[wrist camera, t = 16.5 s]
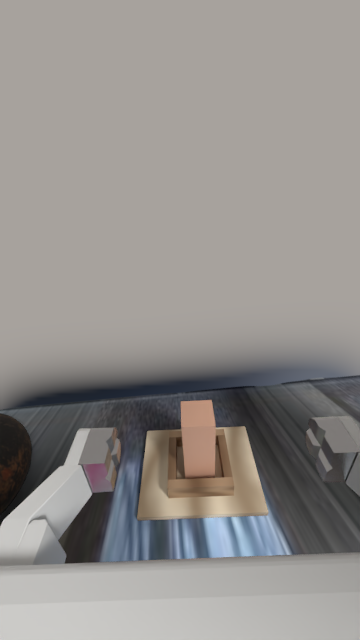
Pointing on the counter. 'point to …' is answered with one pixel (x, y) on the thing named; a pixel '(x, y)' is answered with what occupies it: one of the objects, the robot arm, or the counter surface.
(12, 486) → the glass bottle
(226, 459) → the housing
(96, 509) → the counter surface
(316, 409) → the counter surface
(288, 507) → the counter surface
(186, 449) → the block
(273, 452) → the counter surface
